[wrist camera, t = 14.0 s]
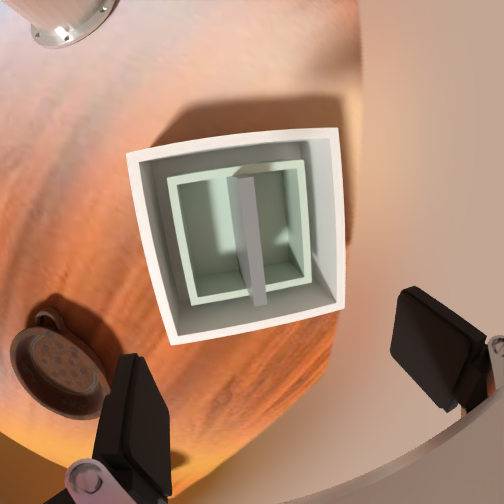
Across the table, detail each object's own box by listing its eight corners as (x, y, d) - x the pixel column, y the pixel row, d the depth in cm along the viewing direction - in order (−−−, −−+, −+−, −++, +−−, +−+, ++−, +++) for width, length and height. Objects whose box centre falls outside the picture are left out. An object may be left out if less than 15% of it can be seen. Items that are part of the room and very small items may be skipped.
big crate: (143, 154, 30) (125, 153, 22) (303, 133, 33) (337, 127, 24) (174, 304, 36) (170, 345, 28) (314, 277, 39) (344, 308, 31)
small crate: (171, 174, 30) (161, 180, 21) (285, 159, 32) (320, 160, 23) (191, 282, 35) (192, 326, 25) (293, 263, 37) (326, 298, 27)
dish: (109, 308, 35) (100, 328, 30) (124, 414, 41) (121, 435, 36) (9, 293, 31) (-7, 308, 26) (40, 397, 37) (32, 415, 32)
